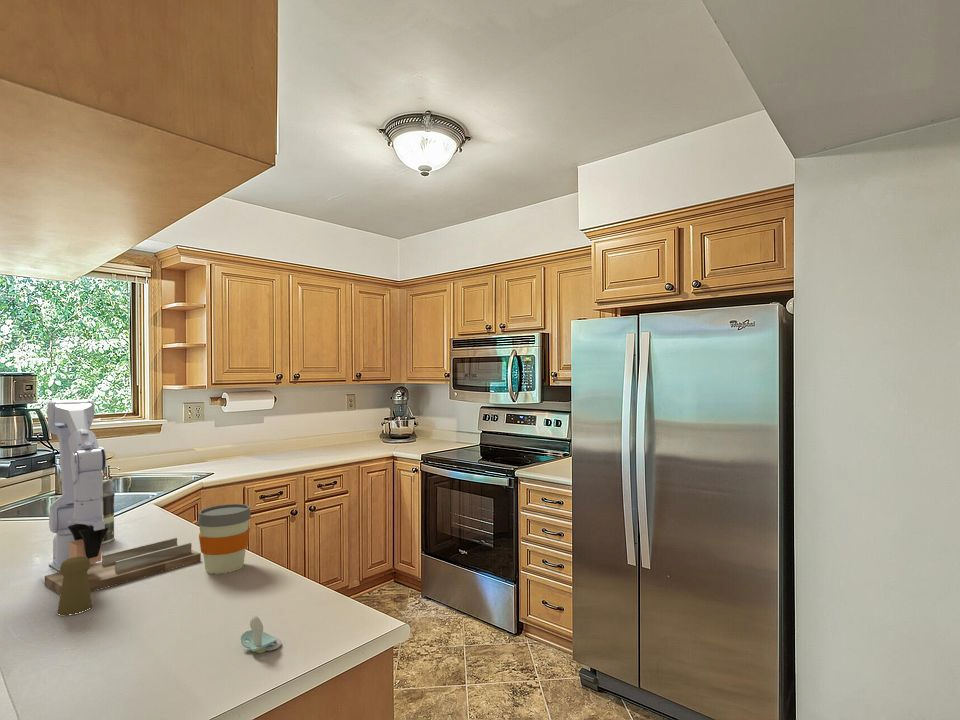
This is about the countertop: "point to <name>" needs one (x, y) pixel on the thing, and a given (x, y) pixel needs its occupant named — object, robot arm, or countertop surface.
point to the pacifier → (259, 638)
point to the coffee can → (108, 516)
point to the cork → (74, 586)
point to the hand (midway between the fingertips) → (88, 555)
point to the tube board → (133, 564)
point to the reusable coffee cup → (224, 536)
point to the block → (81, 551)
